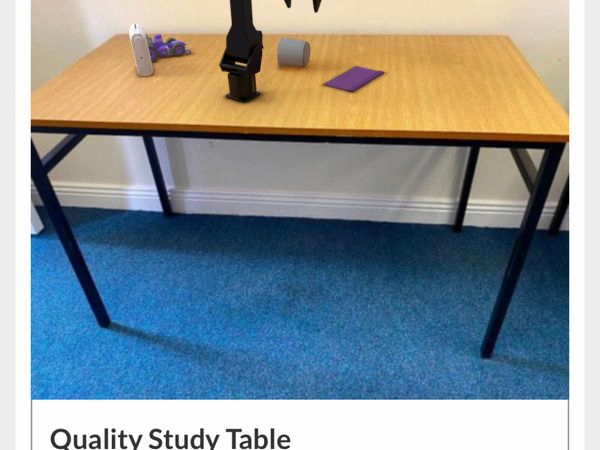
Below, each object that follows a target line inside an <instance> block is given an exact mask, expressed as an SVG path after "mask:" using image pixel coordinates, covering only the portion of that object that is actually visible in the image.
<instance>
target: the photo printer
mask: <svg viewBox="0 0 600 450" xmlns="http://www.w3.org/2000/svg"><path fill="white" fill-rule="evenodd" d="M145 34H146V31H145V28H144V26H142V25H141V24H140V23H132V24H131V25H130V26H129V28H128V38H129V41H130V45H131V49H132V53H133V54H132V55H133V57H134V62H135V66H136V71H137V74H138V76H141V77H151V76H152V75H153V73H154V71H153V63H152V62H151V57H150V52H149V48H148V44H147V39H146V35H145Z"/></svg>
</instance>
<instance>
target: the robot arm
mask: <svg viewBox="0 0 600 450" xmlns="http://www.w3.org/2000/svg"><path fill="white" fill-rule="evenodd" d="M283 1H284V3H285V6H286V8H287V9H291V8H292V0H283ZM322 2H323V1H322V0H312V8H313V12H314V13H315V14H317V13H319V10H320V7H321V4H322ZM229 7H230V9H229V10H230V19H231V20H230V21H231V26H230V27H229V30H228V32H227V34H226V37H225V48H224V50H223V53H222V56H221V58H220V61H219V63H218V65H219V68H220V71H221V72H224V73H227V74H226V75H227V81H228V90H229V93H226V94H225V98H226V99H227V98H228V99H231V100H234V101H237V102H239V103H246V102H249V101H250V100H253V99H255V98H257V97H258V96H260V95H262V93H261V91H258V90H257V89H258V87H257V79H256V74H258V73H261V68H262V62H263V61H262V60H263V50H264V49H265V48H264V43H263V38H264V36H263V35H264V34H263V32H262V30H259V29H257V28H256V27H255V25H254V19H253V17H254V16H253V1H252V0H229Z"/></svg>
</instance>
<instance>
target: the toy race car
mask: <svg viewBox="0 0 600 450" xmlns="http://www.w3.org/2000/svg"><path fill="white" fill-rule="evenodd" d="M145 35H146V39H147V44H148V48H149V52H150V57H151V62H152V64H153V63H155V62H157V61H158V59H160V58H169V57H174V56H177V57H182V56H184V54H185V55H188V54H192V50H191V49H189V48H187V47H186V46H187V43H186V42H183V41H182V40H177V39H176V38H174V37H169V38H167V39H166V41H165V42H164V39H163V38H162V34H161V33H157V34H155V35H154V36H153V38H152V37H150V36H148V34H147V33H145Z"/></svg>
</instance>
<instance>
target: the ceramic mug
mask: <svg viewBox="0 0 600 450" xmlns="http://www.w3.org/2000/svg"><path fill="white" fill-rule="evenodd" d="M276 59H277V60H276V61H277V64H278V66H279V67H282V68H284V67H285V68H296V69H302V68H303V69H304V68H306V67H308V66H309V63H310V59H311V44H310V42H309V41H307V40H304V39H296V38H289V37H284V36H283V37H280V38H279V41H278V44H277V51H276Z"/></svg>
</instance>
